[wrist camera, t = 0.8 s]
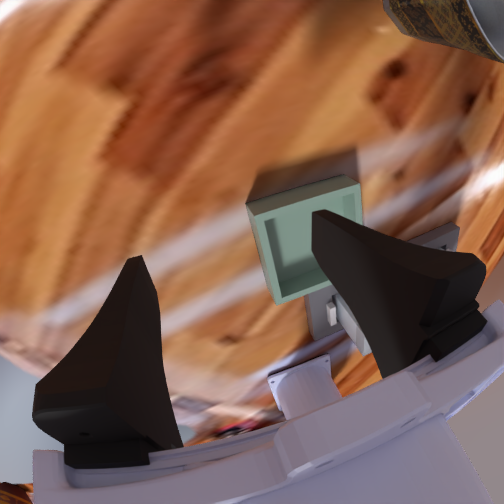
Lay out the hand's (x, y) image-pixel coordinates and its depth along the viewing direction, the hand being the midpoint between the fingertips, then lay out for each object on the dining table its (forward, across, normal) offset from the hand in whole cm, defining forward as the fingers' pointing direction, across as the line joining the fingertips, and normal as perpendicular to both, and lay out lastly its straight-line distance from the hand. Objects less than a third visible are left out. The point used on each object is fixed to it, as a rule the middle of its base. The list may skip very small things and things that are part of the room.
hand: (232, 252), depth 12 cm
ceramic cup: (+11, -18, -13) cm, 25 cm away
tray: (+9, -7, +7) cm, 14 cm away
